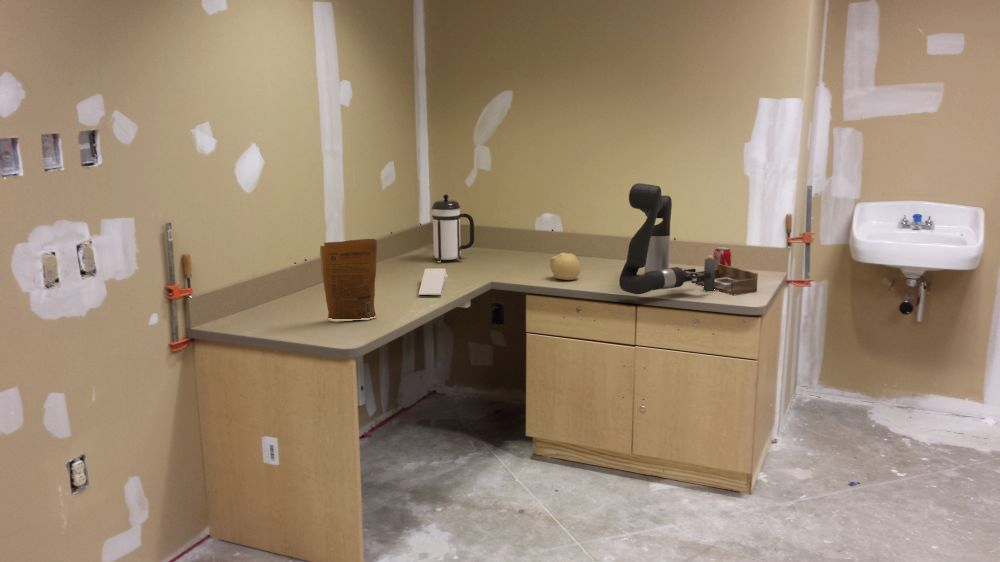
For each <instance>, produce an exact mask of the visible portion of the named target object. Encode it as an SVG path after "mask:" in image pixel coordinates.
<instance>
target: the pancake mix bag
mask: <svg viewBox="0 0 1000 562" xmlns="http://www.w3.org/2000/svg"><path fill="white" fill-rule="evenodd" d="M319 256H320V267H321V276H322V282H323V289H324V293H325V295H324V296H325V302H326V308H327V311H328V312H327V313H328V315H327V319H328V318H332V319H361V318H370V317H374V316H376V317H377V315H376V310H375V296H376V295H375V294H376V292H375V291H376V289H375V288H376V287H375V285H376V283H375V282H376V277H377V258H378V239H375V238H363V239H362V238H361V239H353V240H352V239H350V240H349V239H348V240H345V241H330V242H329V241H327V242H323V245H320V247H319Z"/></svg>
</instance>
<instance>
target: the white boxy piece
mask: <svg viewBox="0 0 1000 562" xmlns="http://www.w3.org/2000/svg"><path fill="white" fill-rule="evenodd" d="M448 277H449V276H448V274H447V269H446V268H425V269H424V272H423V274H422V280H421V283H420V288H419V291H418V296H419V295H441V296H442V294H441V292H442V293H443V290H442V288H443V289H444V286H443V285H445V284H444V282H445V280H446V281H448ZM445 283H446V282H445Z"/></svg>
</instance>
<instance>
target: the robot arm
mask: <svg viewBox="0 0 1000 562" xmlns="http://www.w3.org/2000/svg"><path fill="white" fill-rule="evenodd" d="M628 202H629V204H630V207H632V208H633V209H636V210H640V211H641V212H642V213H644V215H645V216H646V219H645V221H644V223H643V224H642V225H641V226H640V227H639V229H638V230H637V231H636V233H635V234H634V235H633V236H632V238H631V240H630V241H629V243H628V248H627V255H626V261H625V263H624V265H623V268H622V270H621V273H620V275H619V279H618V280H619V281H618V282H619V287H620V289H621V290H622V291H624V292H627V293H629V294H634V295H643V294H647V293H649V292H652V291H657V290H666V289H675V288H681V287H682V286H683V285H684V284H685V283H691V284H696V283H699V282H705V279H710V278H711V273H703V274H702V273H701V274H698V273H697V272H698V271H697V270H696V268H688V269H687V268H682V267H679V266H674V267H670V250H671V249H670V243H671V220H672V219H671V218H672V217H671V216H672V207H673V202H672V197H671V196H669V195H662V189H661V186H659V185H654V184H647V183H639V182H638V183H634V184H633V185H632V187H631V188H630V189H629V193H628ZM657 219H662V220H661V222H659V223H657V224H656V221H657ZM643 268H644V274H638V272H639V270H640V269H643Z"/></svg>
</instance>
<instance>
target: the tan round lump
mask: <svg viewBox="0 0 1000 562" xmlns="http://www.w3.org/2000/svg"><path fill="white" fill-rule="evenodd" d="M549 268H550V269H551V273H552V275H553V276H554V278H555V279H557V280H563V281H564V280H567V281H573V280H576V279H577V278H578V277H579V276H580V273H581V264H580V261H579V259H578V258H577V255H575V254H574V253H572V252H571V253H569V252H568V253H567V252H560V253H559V254H557V255H555V256H552V257H550V259H549Z"/></svg>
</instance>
